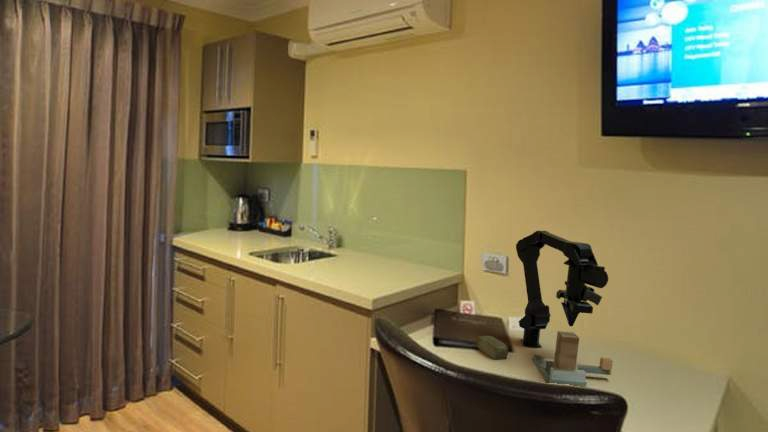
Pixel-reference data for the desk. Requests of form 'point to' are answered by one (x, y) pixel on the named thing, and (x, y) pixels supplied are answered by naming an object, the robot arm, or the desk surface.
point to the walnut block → (566, 350)
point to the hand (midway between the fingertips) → (570, 326)
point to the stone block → (492, 347)
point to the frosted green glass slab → (560, 373)
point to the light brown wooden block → (587, 366)
